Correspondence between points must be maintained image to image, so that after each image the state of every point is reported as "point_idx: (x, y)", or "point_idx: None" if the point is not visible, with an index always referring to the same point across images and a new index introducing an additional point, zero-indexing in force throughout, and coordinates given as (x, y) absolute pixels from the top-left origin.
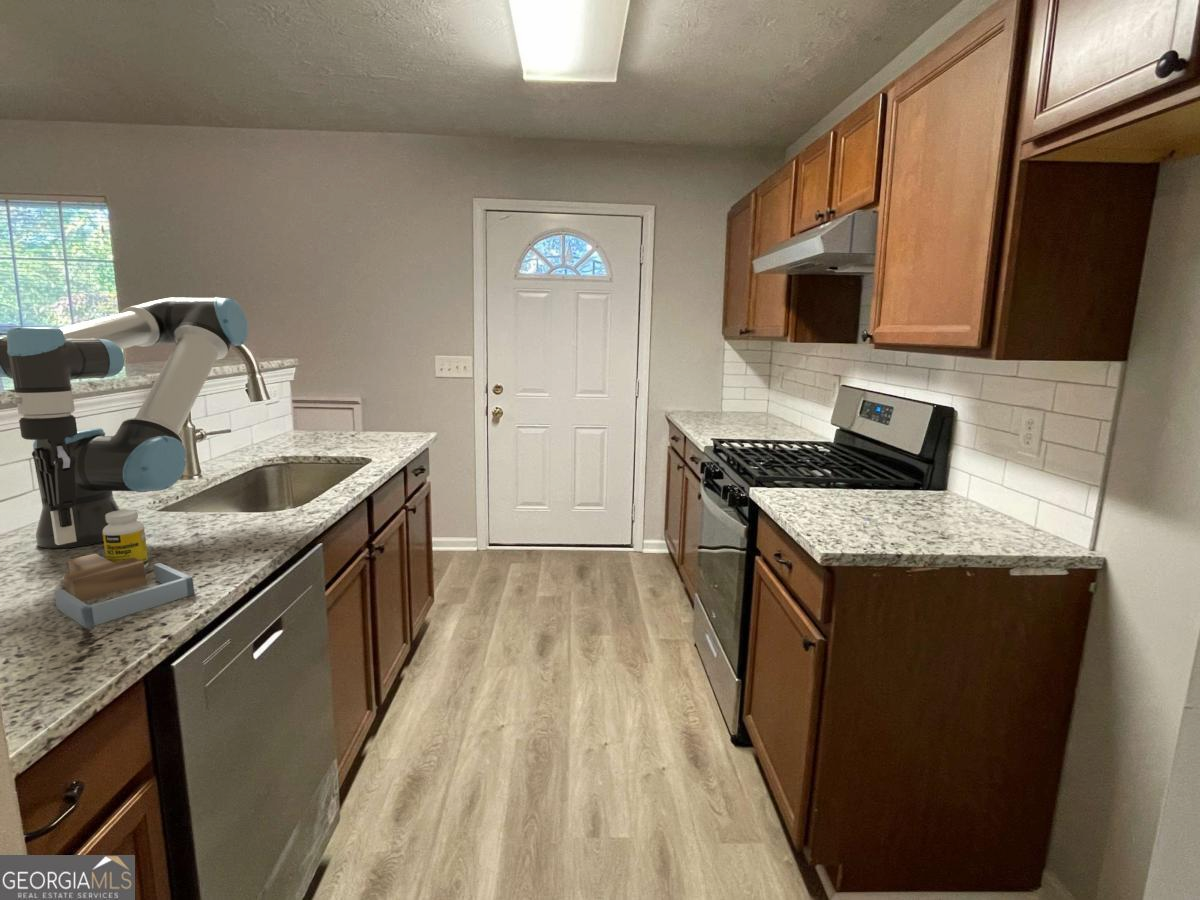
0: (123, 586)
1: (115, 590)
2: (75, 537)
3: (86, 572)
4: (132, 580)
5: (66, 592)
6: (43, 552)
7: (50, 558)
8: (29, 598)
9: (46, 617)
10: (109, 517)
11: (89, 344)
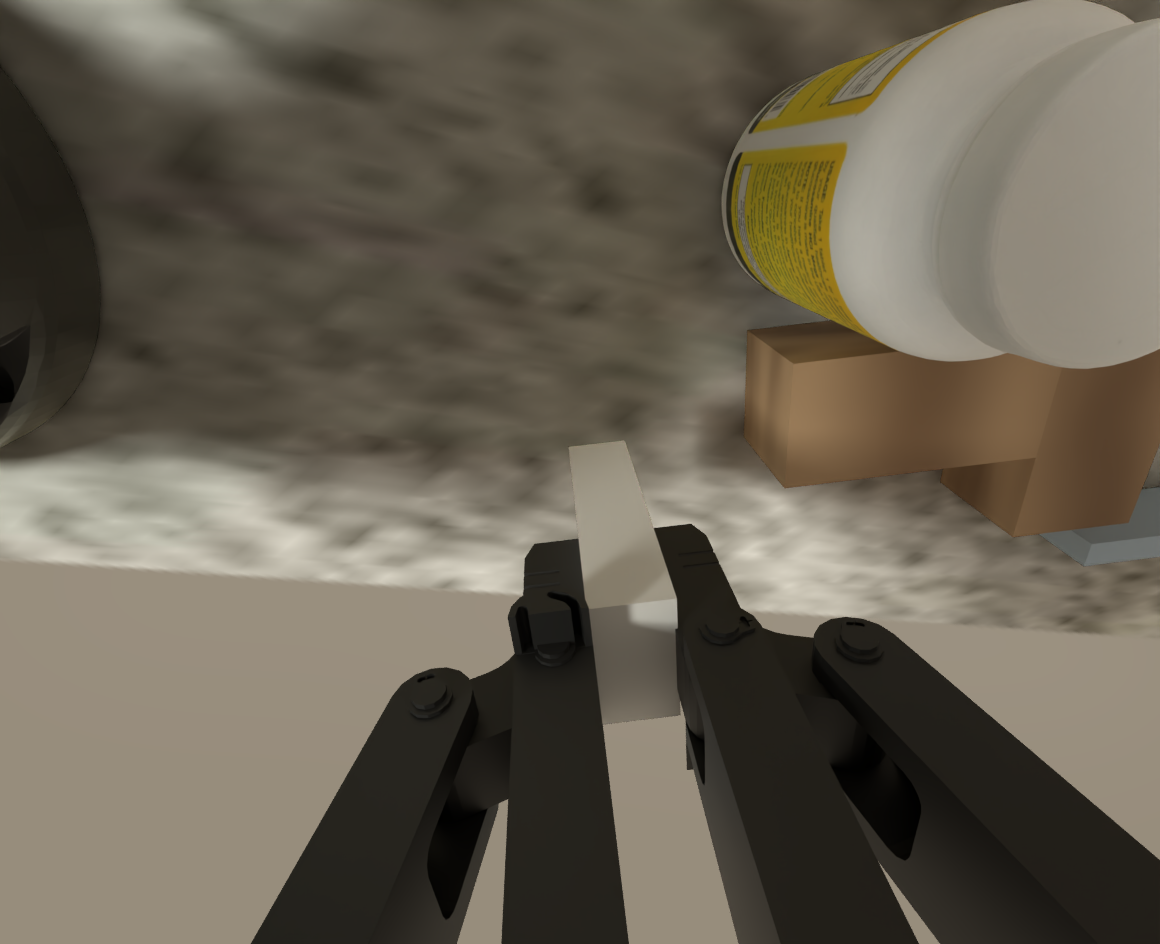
0: None
1: None
2: (629, 455)
3: (1081, 462)
4: None
5: (1152, 538)
6: (109, 451)
7: (267, 444)
8: (817, 569)
9: None
10: (1149, 349)
11: None
